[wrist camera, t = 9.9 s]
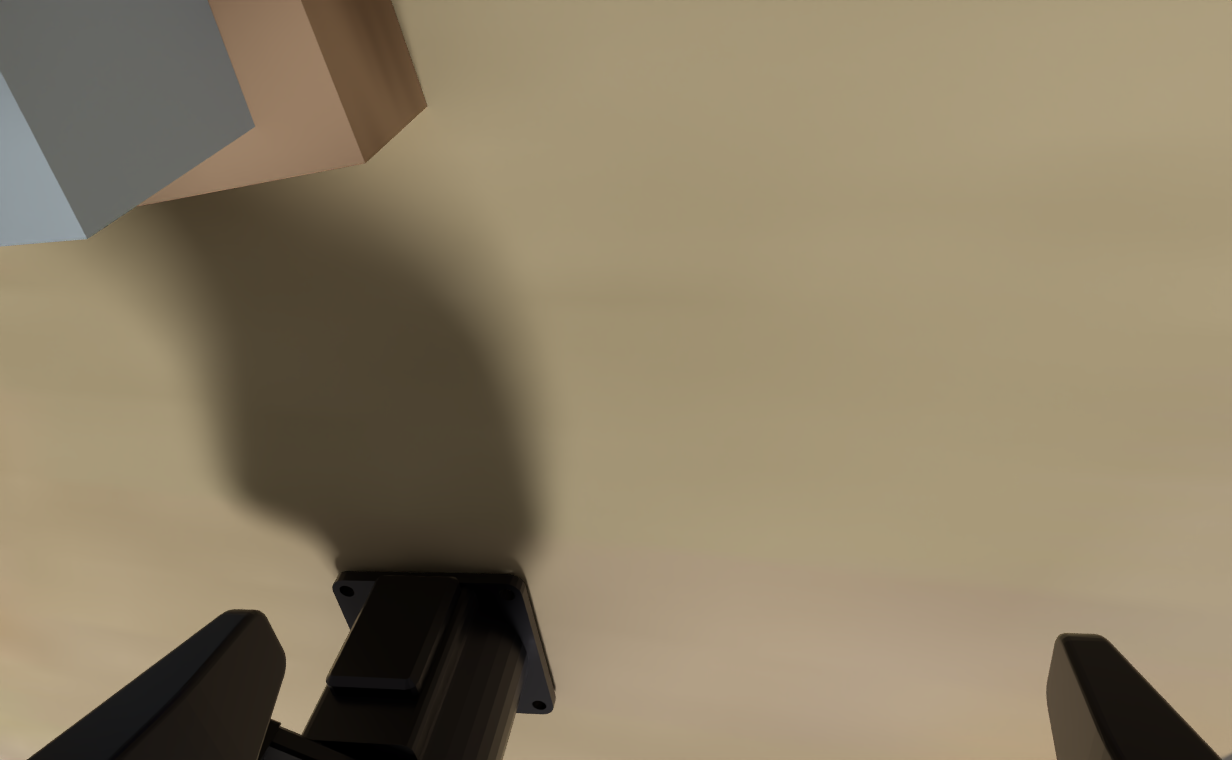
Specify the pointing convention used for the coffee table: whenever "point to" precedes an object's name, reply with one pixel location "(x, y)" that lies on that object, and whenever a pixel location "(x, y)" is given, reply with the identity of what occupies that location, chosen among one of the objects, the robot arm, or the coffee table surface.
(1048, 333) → the coffee table surface
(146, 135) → the slate cube
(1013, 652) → the coffee table surface
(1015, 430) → the coffee table surface
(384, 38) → the walnut block
